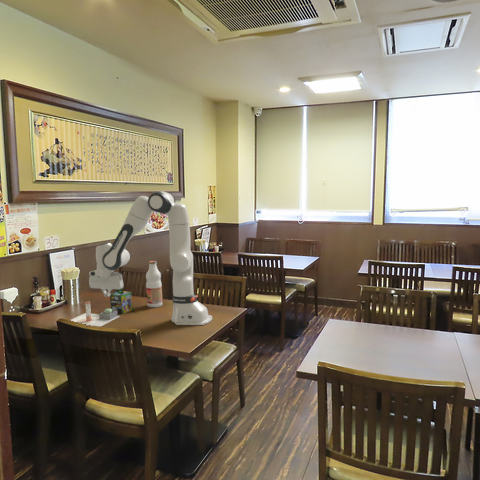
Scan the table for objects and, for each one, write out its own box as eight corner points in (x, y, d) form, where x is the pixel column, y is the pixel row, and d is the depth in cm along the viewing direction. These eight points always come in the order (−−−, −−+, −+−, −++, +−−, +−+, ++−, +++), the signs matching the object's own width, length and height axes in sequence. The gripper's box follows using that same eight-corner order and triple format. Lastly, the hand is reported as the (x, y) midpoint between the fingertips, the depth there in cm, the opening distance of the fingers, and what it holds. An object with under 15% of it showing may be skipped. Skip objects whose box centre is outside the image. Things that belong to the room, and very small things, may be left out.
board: (120, 316, 221) (120, 310, 221) (100, 327, 204) (100, 320, 204) (85, 314, 228) (84, 308, 228) (63, 324, 211) (62, 317, 211)
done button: (113, 313, 220) (113, 308, 219) (109, 315, 216) (108, 310, 216) (107, 313, 221) (107, 308, 221) (103, 315, 217) (103, 310, 217)
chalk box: (133, 310, 233) (131, 286, 231) (122, 314, 225) (120, 290, 223) (121, 308, 237) (120, 285, 236) (110, 313, 229) (108, 288, 227)
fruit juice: (159, 307, 237) (157, 262, 234) (144, 307, 239) (142, 262, 235) (164, 303, 246) (162, 260, 243) (150, 303, 248) (148, 260, 245)
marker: (92, 319, 215) (91, 301, 214) (89, 321, 212) (88, 302, 211) (88, 319, 216) (87, 301, 215) (85, 321, 213) (83, 302, 212)
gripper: (124, 271, 215) (126, 295, 217) (93, 270, 221) (95, 293, 223) (118, 273, 209) (120, 298, 211) (86, 272, 215) (88, 296, 217)
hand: (107, 296), depth 217 cm, fingers closed
